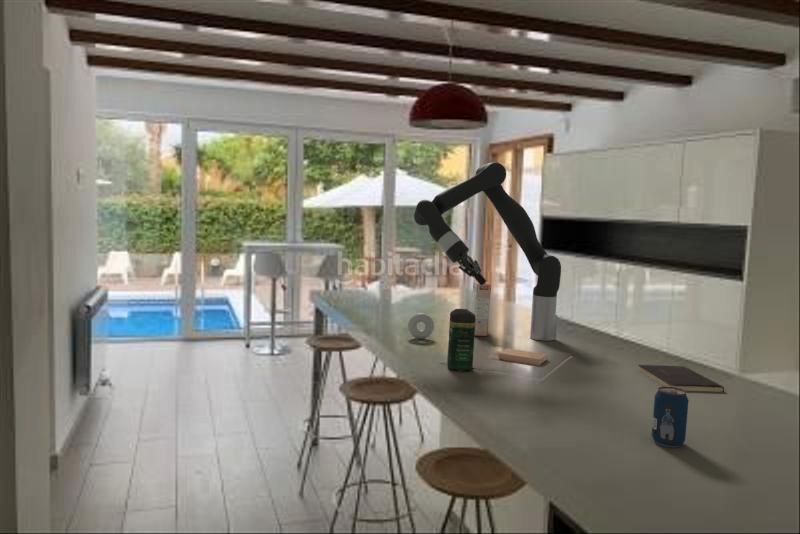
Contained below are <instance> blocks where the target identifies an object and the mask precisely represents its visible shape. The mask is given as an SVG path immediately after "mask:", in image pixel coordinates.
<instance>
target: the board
mask: <svg viewBox="0 0 800 534" xmlns="http://www.w3.org/2000/svg"><path fill="white" fill-rule="evenodd" d="M500 352H501V351H496V352H494V353H492V354H490V355H488V356H486V357H485V359H487V360H494V361H502V362H507V363H513V364H521V365H525V366H526V365H527V366H533V367H540V366H541V365H542V364H543V363H545V362H547V361H548V360H549V359H548V358H547V359H546V360H545V361H544V362H543V363H541V364H540V365H535V364H529V363H522V362H516V361H510V360H503V359H499V358H498V354H499V353H500Z"/></svg>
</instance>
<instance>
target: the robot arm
mask: <svg viewBox="0 0 800 534" xmlns="http://www.w3.org/2000/svg"><path fill="white" fill-rule="evenodd" d="M506 178H507V170H506V167H505V166H504V164H502V163H500V162H497V161H496V162H495V161H492V162H489V163H486V164H483V165H481V166H479V167H477V169H476V171H475V175H474V176H472V177H470V178H468V179H466V180H464V181H462V182H460V183H457V184H455V185H452V186H451V187H449V188H447V189H446V190H443V191H441V192H439V193H438V194H437V195H435V197H434V198H433V200H429V199H421V200H420V201H419V202H418V203H417V204H416V206H415V211H414V214H413V219H414V222H415V223H416V224H417V225H419V226H428V231H429V235H430V236H431V237H432V239H433V240H434V241H435V242H436V243H437V245H438V246H439V248H440V249H441V251H443V253H444V254H445V256H446V257H448V259H449V260H450V262H452V263H453V264H454V263H455V264H456V263H458V264H459V266H458V269H460V270H461V271H462V272H464V274H466V275H468V276H469V277H470V278H471V277H472V278H474V280H477V281H478V283H479V284H480V285H484V284H485V283H486V281H487V279H486V278H485V277H484V276H483V275H482V274H481V273H482V269H481V267H480V264H479V263H478V261H477V259H475V260H474V259H473V258H472V257H471V256H469V255H468V253H469V251H470V248H469V247H468V246H467V245H466V244H465V242H464V241H463V240H462V239H461V238H460V236H459V235H458V234H457V233H456V232H455V231H453V229H452V228H451V227H450V226H449V224H448V223H446V221H445V219H444V218H443V215H444V214H445V213H446V212H449V211H450V210H452V209H454V208H455V207H457V206H459V205H460V204H462V203H464V202H465V201H467V200H468V199H470V198H471V197H474V196H476V195H477V194H480V193H481V192H483V193H484V194H485V195H486V197H487V198H488V199H489V200H490V202H491V203H492V205H493V207H494V208H495V210H496V212H497V213H498V214H499V216H500V217H501V219H502V221H503V223H504V225H505V226H506V228H507V230H508V231H509V232H510V234H511V235H512V237H513V238H514V240H515V242H517V245H518V246H519V247H520V248H521V250H522V252H523V254H524V255H525V257H526V259H527V261H528V263H529V265H530V268H531V269H532V271H533V273H534V274H535V275H536V276H537V281H536V284H535V286H534V287H533V289H532V300H531V301H532V302H531V303H532V304H531V317H530V318H531V320H530V333H529V334H530V335H529V338H530V339H532V340H534V341H535V340H536V341H541V342H543V341H545V342H546V341H547V342H548V341H549V342H550V341H554V340H557V330H558V315H557V314H556V313H557V301H558V300H557V299H558V298H557V297H558V291H559V290H560V285H561V276H562V275H561V274H562V264H561V262H560V259H559V258H558V257H557V256H555V255H550V254H548V253H547V251H545V249H544V248H543V246H542V244H541V243H540V242H539V240H538V235H537V232H536V229H535V226H534V223H533V222H532V221H533V220H532V219H531V218H530V216H529V214H528V213H527V211H526V210H525V209H524V207H523V206H522V205H521V204H520V203H519V202H518V201H516V200H515V199H514V198H513V197H511V196H510V195H509V194H508V193H507V192H506V190H505V189H504V187H503V186H502V184H503V183H504V182H505V180H506Z"/></svg>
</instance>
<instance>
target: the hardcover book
mask: <svg viewBox="0 0 800 534" xmlns="http://www.w3.org/2000/svg"><path fill="white" fill-rule="evenodd" d="M637 366H638V367H639V371H640V372H642V373H643V374H644V375H646V376H648V377H650V378H651V379H653V380H655V381H656V382H657V383H658V384H660V385H662V386H663V387H674V388H679V389H682V390H684V391H686V392H714V393H715V392H716V393H718V392H719V393H724V392H725V388H724V386H723V385H721V384H719V383H717V382H715V381H714V380H712V379H710V378H708V377H706V376H704V375H702V374H700V373H698V372H696V371H694V370H692V369H691V368H689V367H687V366H683V365H663V364H662V365H658V364H656V365H655V364H638V365H637Z"/></svg>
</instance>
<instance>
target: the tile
mask: <svg viewBox="0 0 800 534" xmlns="http://www.w3.org/2000/svg"><path fill="white" fill-rule="evenodd" d="M499 352H500V353H499V354H498V358H499V359H503V360H510V361H516V362H522V363H529V364H535V365H539V366H541V365H542V364H543V362H544V361H545V360H546V359H548V354H547V353H543V352H537V351H535V352H534V351H527V350H521V349H516V348H514V349H513V348H505V349H503V350H501V351H499ZM546 361H547V360H546ZM546 361H545V362H546ZM545 362H544V363H545ZM541 363H542V364H541ZM540 364H541V365H540Z"/></svg>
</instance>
